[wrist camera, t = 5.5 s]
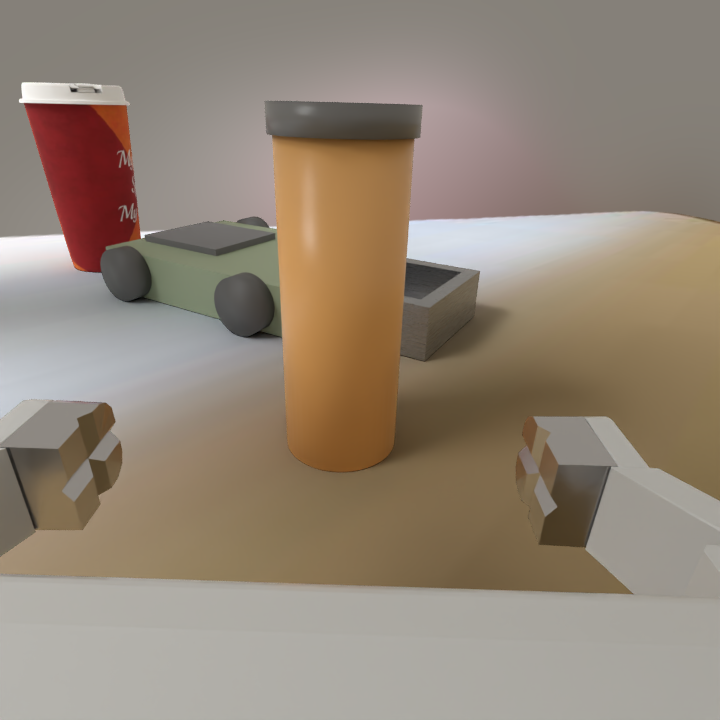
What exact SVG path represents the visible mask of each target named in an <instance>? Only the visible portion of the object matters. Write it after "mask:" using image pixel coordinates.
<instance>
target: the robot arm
mask: <svg viewBox="0 0 720 720" xmlns="http://www.w3.org/2000/svg"><path fill="white" fill-rule="evenodd" d="M114 424H115V418H114V415H113V411H112V407H110V406H109V405H108V404H107V403H102V402H82V401H63V400H55V401H54V400H37V399H31V400H24V401H22V402H21V403H19V404H18V405H17V406H16V407H15V408H13V409H12V410H11V411H10V412H9V413H7V414H6V415H5V416H4V417H3V418H1V419H0V556H2V555H3V554H5V553H6V552H8V551H9V550H11V549H12V548H13V547H15V546H16V545H18V544H19V543H21V542H22V541H24V540H25V539H26V538H28V537H29V536H31V535H32V534H34V533H35V532H36V531H35V530H83V529H84V527H85V526H86V524H87V523H88V521H89V520H90V519H91V517H92V516H93V514H94V513H95V511H96V510H97V508H98V507H99V505H100V501H99V497H98V495H100V494H102V493H103V492H105V491H107V490H108V489H110V488H112V486H113V485H114V483H115V481H116V480H117V478H118V476H119V473H120V469H121V465H122V448H121V444H120V440H119V439H118V438H117V437H116V436H114V435H113V434H112V433H111V432H110V430H111V428H112V427H113V425H114ZM522 435H523V438H524V440H525V442H526V444H527V445H526V446H525V447H524V448H523V449H522V450H521V451H520V452H519V453H518V458H517V464H516V483H517V488H518V492H519V495H520V498H521V501H523V502H524V503H525V504H527V505H528V506H529V507H530V511H529V515H528V519H529V522H530V524H531V527H532V529H533V532H534V534H535V537H536V539H537V542H538V544H539V545H553V546H570V547H586V549H585V550H586V551H588V552H589V553H590V554H591V555H592V556H593V557H594V558H595V559H596V560H597V561H598V562H599V563H601V564H602V565H603V566H604V567H605V568H606V569H607V570H608V571H609V572H610V573H611V574H613V575H614V576H615V577H616V578H617V579H618V580H619V581H620V582H621V583H622V584H623V585H625V586H626V587H627V588H628V589H629V590H630V591H631V592H632V593H633V594H609V593H578V592H547V591H516V590H485V589H454V588H423V587H392V586H361V585H329V584H298V583H268V582H239V581H210V580H180V579H149V578H117V577H86V576H55V575H24V574H0V720H720V501H719V500H717V499H715V498H713V497H711V496H709V495H707V494H706V493H704V492H702V491H700V490H698V489H696V488H694V487H692V486H691V485H689V484H687V483H685V482H683V481H681V480H679V479H677V478H675V477H674V476H672V475H670V474H668V473H666V472H664V471H662V470H660V469H659V468H649V466H648V465H647V464H646V463H645V461H644V460H643V459H642V458H641V456H640V455H639V454H638V452H637V451H636V450H635V449H634V447H633V446H632V445H631V443H630V442H629V441H628V440H627V438H626V437H625V436H624V434H623V433H622V432H621V431H620V429H619V428H618V427H617V425H616V424H615V423H614V422H613V420H612V419H610V418H608V417H606V416H600V417H527V419H526V421H525V423H524V428H523V432H522Z"/></svg>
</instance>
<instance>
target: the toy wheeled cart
mask: <svg viewBox="0 0 720 720" xmlns="http://www.w3.org/2000/svg"><path fill="white" fill-rule="evenodd" d="M100 265H101V272H102V276H103V279H104V281H105V283H106V285H107V287H108V288H109V290H110V291H111V292H112V294H113V295H114V296H115V297H117V298H118V299H120V300H122V301H130V300H133V299H136V298H139V297H144V298H147V299H151V300H154V301H158V302H161V303H165V304H168V305H172V306H175V307H179V308H182V309H186V310H189V311H193V312H196V313H200V314H203V315H207V316H210V317H214V318H217V319H220V320H221V321H222V323H223V324H224V325H225V326H226V327H227V329H229V330H230V331H231V332H232V333H234V334H236V335H238V336H243V337H246V336H250V335H252V334H254V333H256V332H258V331H262V332H266V333H269V334H273V335H276V336H280V337H282V321H281V301H280V281H279V260H278V240H277V229H272V228H269V226H268V225H267V223H266V222H265V221H263V220H262V219H261V218H259V217H249V218H245V219H241V220H239V221H237V222H229V221H224V220H223V221H219V222H215V223H214V222H203V223H199V224H194V225H189V226H185V227H180V228H175V229H171V230H166V231H161V232H157V233H152V234H148V235H145V238H142V239H138V240H133V241H129V242H124V243H120V244H115V245H111V246H106V251H105V252H104V253H103V254H102V257H101V262H100Z"/></svg>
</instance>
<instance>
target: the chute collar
mask: <svg viewBox="0 0 720 720" xmlns="http://www.w3.org/2000/svg"><path fill="white" fill-rule="evenodd" d="M479 274H480V271H476V270H470V269H465V268H459V267H453V266H448V265H442V264H436V263H430V262H425V261H419V260H413V259H407V258H406V273H405V288H404V303H403V318H402V333H401V348H400V355H403V356H407V357H411V358H414V359H418V360H422V361H425V360H427V359H428V358H429V357H430V356H431V355H432V354H433V353H434V352H435V351H436V350H437V349H439V348H440V347H441V346H442V345H443V344H444V343H445V342H446V341H447V340H448V339H450V338H451V337H452V336H453V335H454V334H455V333H456V332H457V331H458V330H459V329H461V328H462V327H463V326H464V325H465V324H466V323H467V322H468V321H469V320H470V319H472V318H473V317H474V311H475V304H476V296H477V289H478V282H479Z"/></svg>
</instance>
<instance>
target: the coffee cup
mask: <svg viewBox="0 0 720 720" xmlns="http://www.w3.org/2000/svg"><path fill="white" fill-rule="evenodd" d="M21 87H22V97H23V99H19V102H20V103H24V105H25V108H26V111H27V115H28V118H29V121H30V125H31V128H32V131H33V135H34V138H35V141H36V145H37V148H38V151H39V154H40V158H41V161H42V165H43V168H44V171H45V174H46V178H47V181H48V185H49V188H50V191H51V195H52V198H53V201H54V204H55V208H56V211H57V214H58V217H59V221H60V224H61V227H62V231H63V234H64V237H65V240H66V244H67V247H68V250H69V253H70V256H71V259H72V262H73V264H74V267H75V268H76V269H78V270H80V271H85V272H101V265H100V262H101V257H102V254H103V253H104V252H105V251H106V246H111V245H115V244H120V243H124V242H129V241H133V240H138V239H141V236H140V227H139V217H138V207H137V199H136V189H135V179H134V171H133V161H132V152H131V143H130V134H129V126H128V116H127V107H126V105H130V103H129V102H128V101H126V100H125V97H124V93H123V90H122V88H121V87H120V86H111V85H93V84H81V83H76V84H68V83H30V82H27V83H22V86H21Z"/></svg>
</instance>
